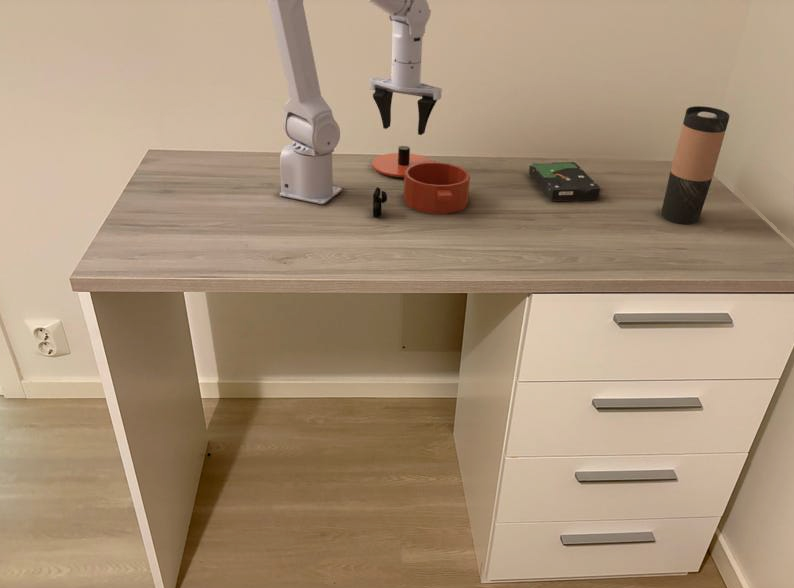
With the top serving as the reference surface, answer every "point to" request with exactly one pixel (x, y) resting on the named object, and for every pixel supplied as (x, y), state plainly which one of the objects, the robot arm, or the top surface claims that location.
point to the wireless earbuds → (378, 202)
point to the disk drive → (564, 181)
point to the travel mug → (694, 163)
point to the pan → (436, 187)
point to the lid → (397, 162)
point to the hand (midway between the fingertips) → (403, 130)
